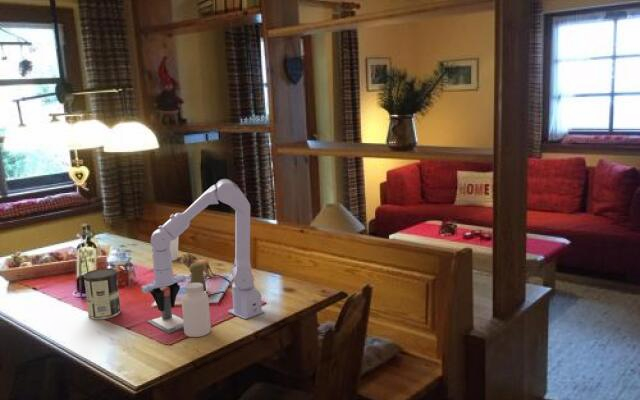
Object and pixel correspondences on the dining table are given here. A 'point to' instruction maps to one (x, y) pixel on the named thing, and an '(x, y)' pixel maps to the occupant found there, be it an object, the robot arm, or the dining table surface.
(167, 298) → the marker
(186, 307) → the pill bottle
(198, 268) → the brown upright piece
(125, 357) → the dining table surface
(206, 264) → the lion figurine
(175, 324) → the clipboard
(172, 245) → the foam cup
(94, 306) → the coffee can
